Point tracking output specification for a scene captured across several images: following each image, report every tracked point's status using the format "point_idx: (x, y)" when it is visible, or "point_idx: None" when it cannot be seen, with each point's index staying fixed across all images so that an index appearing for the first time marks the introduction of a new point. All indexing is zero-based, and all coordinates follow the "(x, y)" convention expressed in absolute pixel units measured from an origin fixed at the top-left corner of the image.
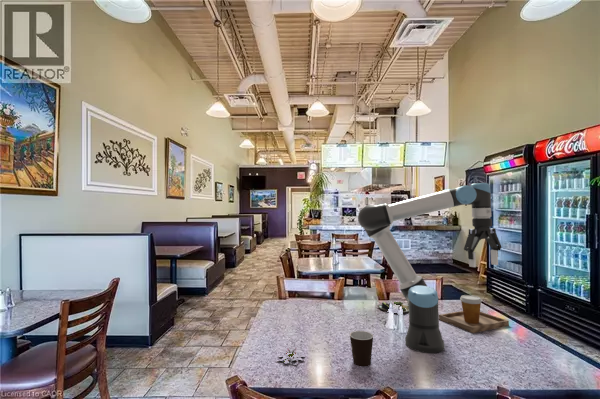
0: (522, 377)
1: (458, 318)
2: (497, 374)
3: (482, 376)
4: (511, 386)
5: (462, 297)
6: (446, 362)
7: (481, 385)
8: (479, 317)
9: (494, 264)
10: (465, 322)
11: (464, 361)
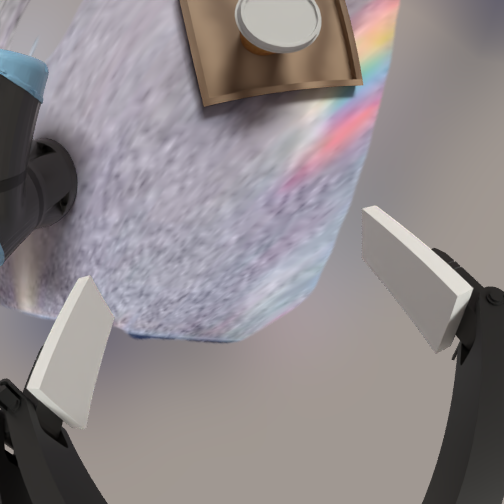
0: (160, 313)
1: None
2: (126, 301)
3: None
4: (128, 328)
5: (241, 6)
6: (60, 257)
7: None
8: None
9: (363, 240)
10: (235, 38)
11: (91, 257)
